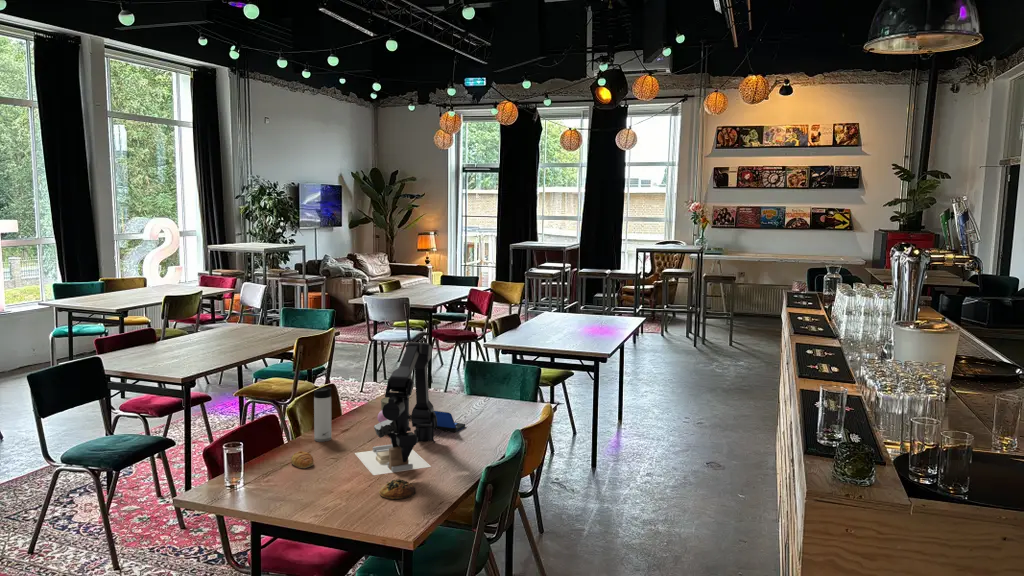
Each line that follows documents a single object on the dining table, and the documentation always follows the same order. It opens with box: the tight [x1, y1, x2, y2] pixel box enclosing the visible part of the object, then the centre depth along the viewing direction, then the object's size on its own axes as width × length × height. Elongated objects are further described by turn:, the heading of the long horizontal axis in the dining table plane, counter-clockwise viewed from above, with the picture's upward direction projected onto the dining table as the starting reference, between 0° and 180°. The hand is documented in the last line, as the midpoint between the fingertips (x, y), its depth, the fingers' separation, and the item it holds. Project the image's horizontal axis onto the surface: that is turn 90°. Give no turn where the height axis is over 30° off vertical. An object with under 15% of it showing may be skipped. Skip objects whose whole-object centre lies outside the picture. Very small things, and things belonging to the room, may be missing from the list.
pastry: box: [290, 450, 315, 469], centre depth 239 cm, size 9×7×4 cm
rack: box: [354, 443, 432, 476], centre depth 243 cm, size 20×24×2 cm
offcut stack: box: [376, 451, 389, 464], centre depth 243 cm, size 10×5×2 cm, turn 117°
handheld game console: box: [434, 410, 466, 433], centre depth 283 cm, size 16×13×9 cm
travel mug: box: [313, 387, 333, 443], centre depth 266 cm, size 6×7×20 cm
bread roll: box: [378, 479, 417, 500], centre depth 216 cm, size 11×11×5 cm
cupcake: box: [376, 410, 388, 423], centre depth 276 cm, size 9×9×10 cm
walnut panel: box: [389, 447, 408, 470], centre depth 234 cm, size 6×2×7 cm, turn 117°
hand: (400, 457), depth 234 cm, fingers open, 9 cm apart
